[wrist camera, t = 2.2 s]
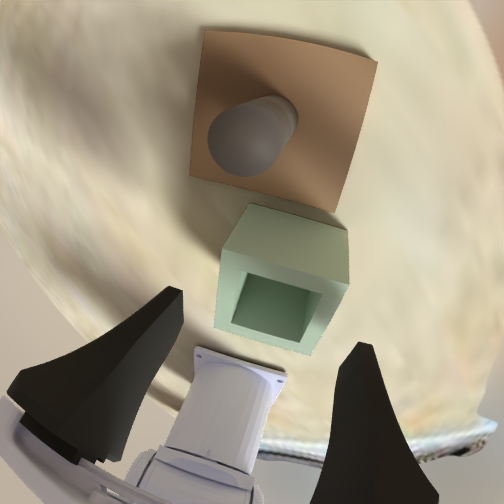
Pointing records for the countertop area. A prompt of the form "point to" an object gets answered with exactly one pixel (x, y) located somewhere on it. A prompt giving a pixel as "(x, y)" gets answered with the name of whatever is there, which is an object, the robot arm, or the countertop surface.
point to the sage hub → (281, 278)
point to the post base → (311, 90)
